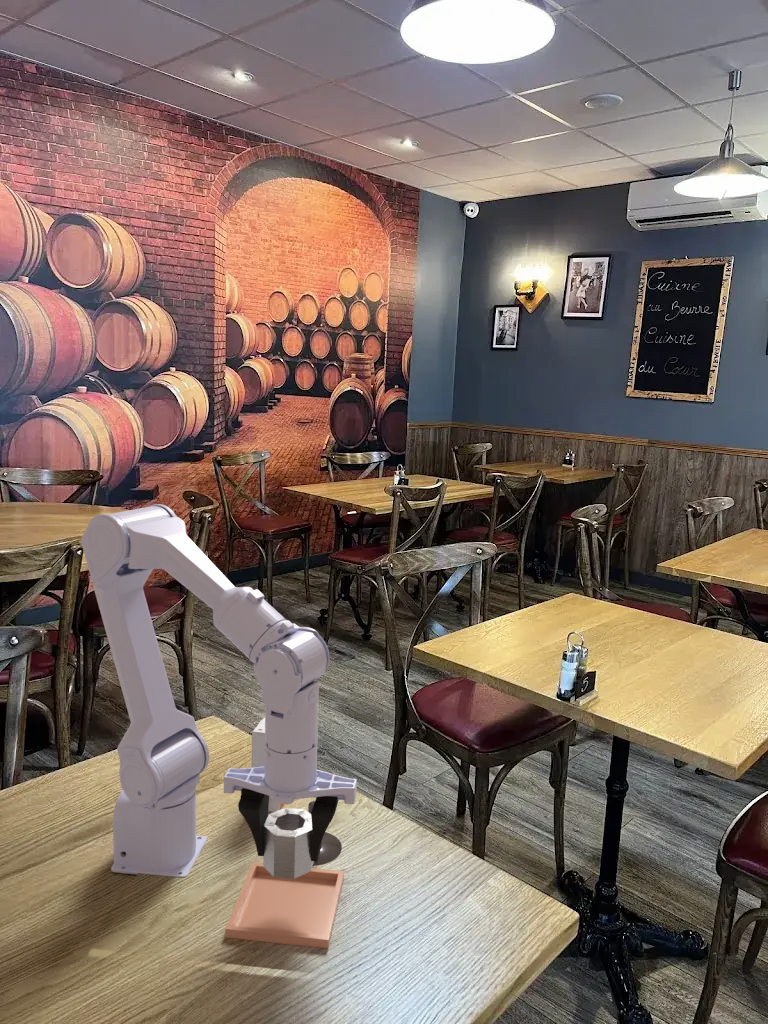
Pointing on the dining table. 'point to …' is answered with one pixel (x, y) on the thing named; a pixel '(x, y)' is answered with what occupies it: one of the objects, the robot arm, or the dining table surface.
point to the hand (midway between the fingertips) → (289, 853)
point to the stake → (327, 845)
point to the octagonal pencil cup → (288, 843)
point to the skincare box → (261, 757)
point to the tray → (287, 907)
